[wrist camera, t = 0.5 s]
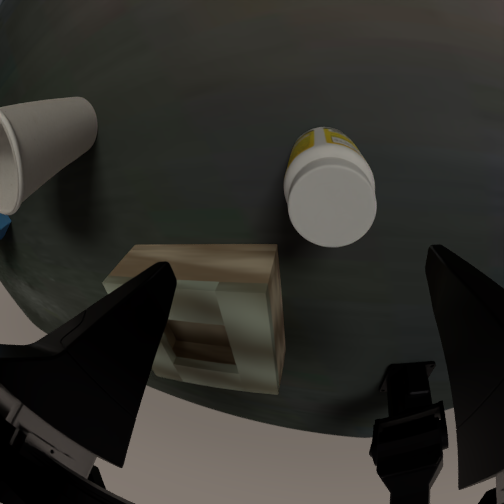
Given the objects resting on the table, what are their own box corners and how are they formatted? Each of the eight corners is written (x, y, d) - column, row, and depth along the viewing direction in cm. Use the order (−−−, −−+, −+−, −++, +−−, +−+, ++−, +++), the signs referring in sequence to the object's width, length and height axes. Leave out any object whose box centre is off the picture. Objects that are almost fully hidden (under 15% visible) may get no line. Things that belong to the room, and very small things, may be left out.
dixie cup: (118, 158, 22) (33, 211, 14) (61, 172, 24) (-10, 220, 15) (100, 69, 17) (3, 89, 9) (44, 99, 19) (-36, 129, 11)
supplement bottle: (297, 193, 21) (287, 259, 14) (284, 131, 18) (266, 165, 11) (361, 186, 19) (385, 249, 12) (353, 122, 17) (381, 150, 10)
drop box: (285, 349, 31) (278, 394, 26) (174, 338, 34) (156, 375, 29) (277, 244, 23) (265, 293, 18) (135, 244, 27) (102, 282, 22)
